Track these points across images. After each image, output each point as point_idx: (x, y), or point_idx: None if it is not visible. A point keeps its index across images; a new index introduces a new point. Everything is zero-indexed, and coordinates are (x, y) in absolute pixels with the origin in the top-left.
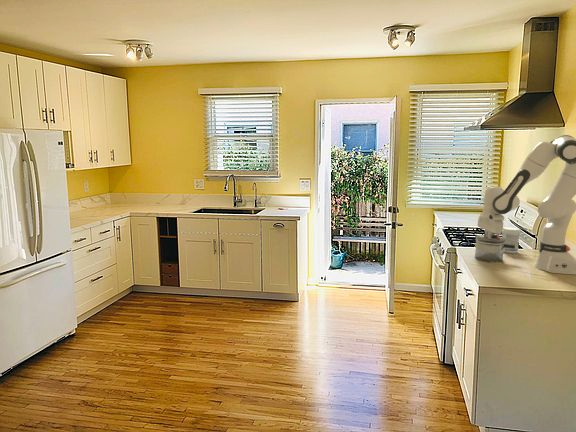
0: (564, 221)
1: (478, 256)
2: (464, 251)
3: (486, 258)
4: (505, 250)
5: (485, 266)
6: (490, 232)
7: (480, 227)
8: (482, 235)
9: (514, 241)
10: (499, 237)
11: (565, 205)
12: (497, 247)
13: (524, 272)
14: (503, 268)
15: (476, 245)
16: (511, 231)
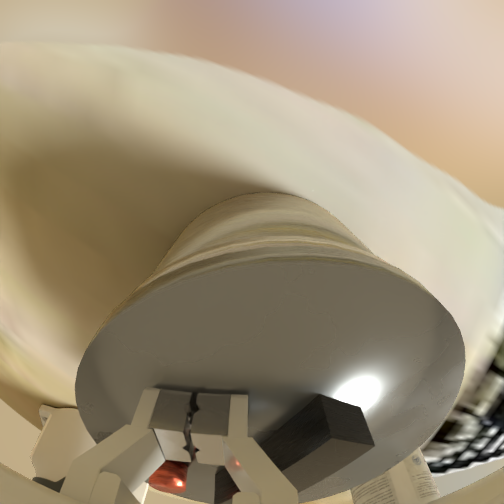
0: None
1: (243, 200)
2: (470, 225)
3: (176, 240)
4: None
5: (64, 159)
6: (73, 483)
7: (473, 490)
8: (428, 404)
9: (355, 498)
10: (150, 484)
11: None
12: None
13: (9, 320)
14: (39, 259)
15: (322, 229)
16: None
